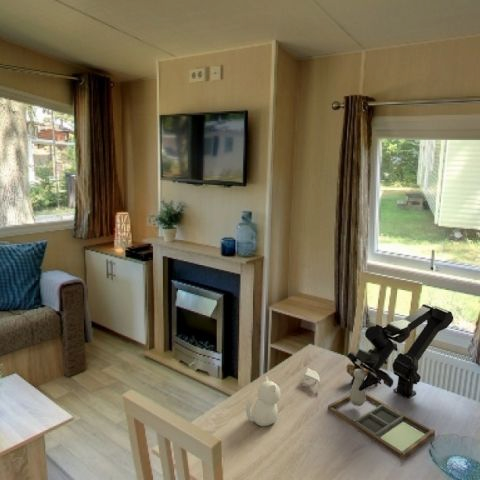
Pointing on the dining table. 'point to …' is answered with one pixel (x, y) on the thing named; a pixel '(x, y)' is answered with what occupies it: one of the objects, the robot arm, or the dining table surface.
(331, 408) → the wooden frame
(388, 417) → the trap pits
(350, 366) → the lion figurine
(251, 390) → the dining table surface
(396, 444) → the pad
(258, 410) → the cat figurine
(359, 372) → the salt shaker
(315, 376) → the origami figure
